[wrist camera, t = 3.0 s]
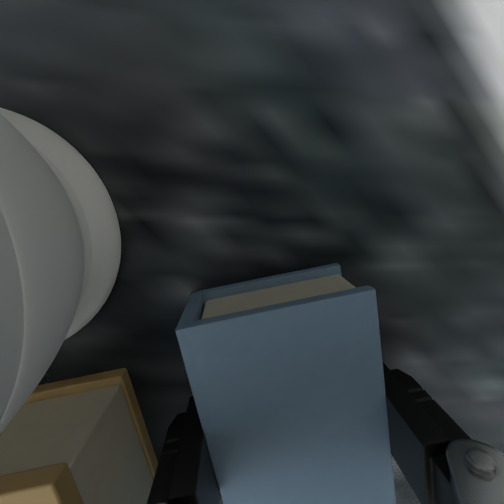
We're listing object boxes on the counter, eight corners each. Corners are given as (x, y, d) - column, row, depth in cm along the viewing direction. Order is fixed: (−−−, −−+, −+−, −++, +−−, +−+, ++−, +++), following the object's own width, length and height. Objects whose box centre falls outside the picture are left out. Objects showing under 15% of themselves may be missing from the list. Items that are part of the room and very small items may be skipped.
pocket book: (191, 291, 10) (173, 330, 7) (336, 261, 10) (376, 289, 7) (239, 476, 12) (239, 566, 9) (360, 450, 12) (399, 531, 9)
